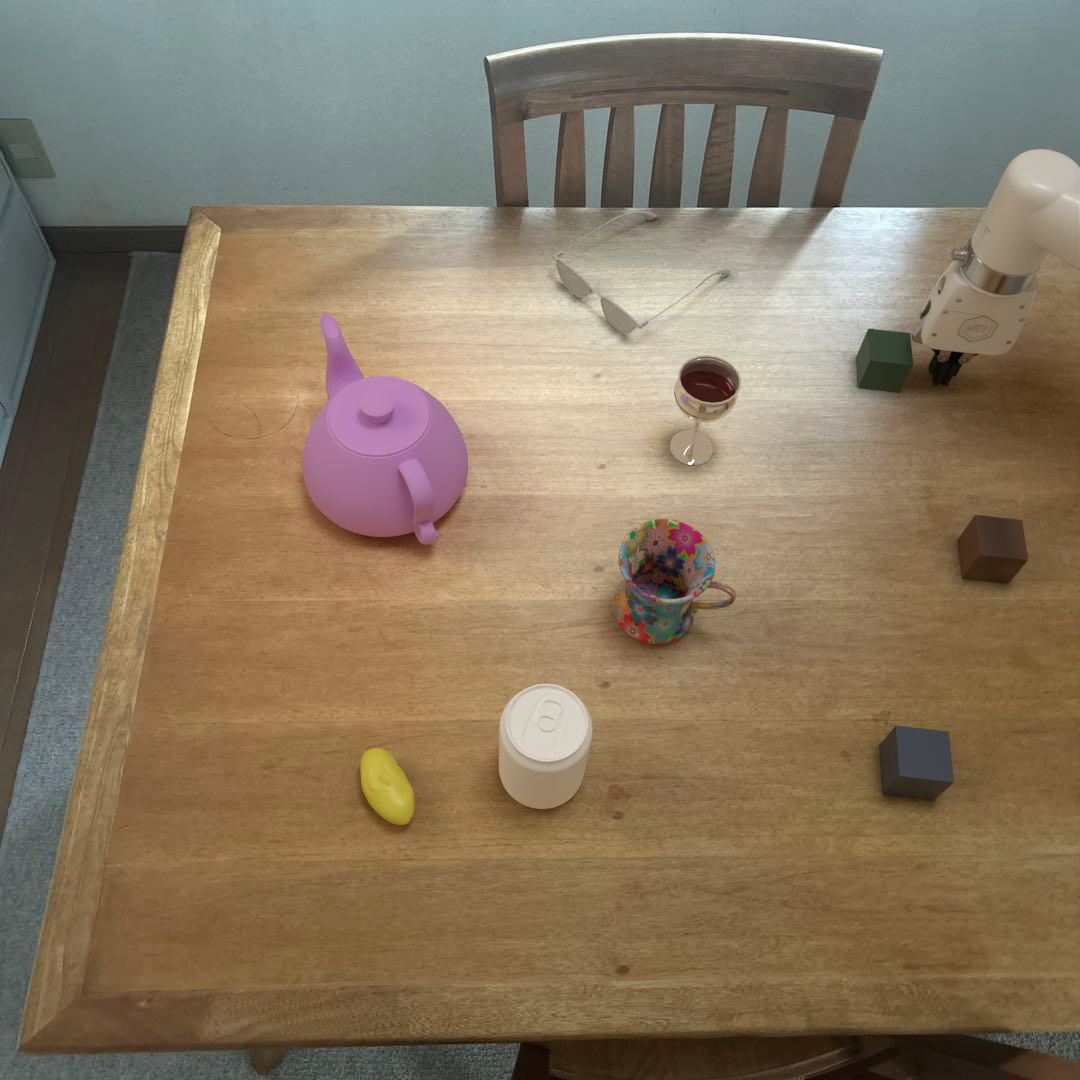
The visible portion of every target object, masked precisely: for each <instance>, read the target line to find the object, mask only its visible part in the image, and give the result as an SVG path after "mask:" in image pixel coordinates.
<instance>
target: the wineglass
mask: <svg viewBox="0 0 1080 1080" xmlns="http://www.w3.org/2000/svg"><path fill="white" fill-rule="evenodd" d="M741 387H742V378H741V376H740V372H739V371H738V370H737V368H736V367H735V366H734V364H732V363H730V362H729V361H728V360H727V359H724V358H721V357H719V356H716V355H709V354H704V355H697V356H694V357H692V358H691V357H690V358H689V359H687V360H686V361H685V362H684V363H683V364H682V365H681V366H680V367H679V370H678V375H677V380H676V381H675V384H674V391H673V395H674V399H675V403H676V405H677V407H678V408H679V410H680V412H681V413H682V414H683V415H685V416H686V417H688V419H691V420H693V421H694V426H693V429H685V430H681V431H679V432H677V433H676V434H674V435H673V436H672V438H671V439H670V441H669V449H670V453H671V454H672V456H673V457H674V459H676V460H677V461H678V462H680V463H683V464H685V465H688V466H698V465H703V464H704V463H707V462H708V461H709V460H711V457H712V455H713V454H714V446H713V442H712V441H711V440H710V438H709V436H707V435H706V434H704V433H702V432H700V431H699V430H700V428H701V425H702V423H705V424H706V423H716V422H718V421H721V420H723V419H724V418H725V417H726V416H728V415H729V414H730V413H731V412H732V411H733V410H734V407H735V406H736V404H737V402H738V398H739V392H740V390H741Z"/></svg>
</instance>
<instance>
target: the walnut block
mask: <svg viewBox="0 0 1080 1080" xmlns="http://www.w3.org/2000/svg"><path fill="white" fill-rule="evenodd" d="M957 546H958V553H959V554H958V555H959V562H960V571H961V579H963V580H972V581H980V582H981V581H983V582H991V583H1000V584H1010V583H1011V581H1013V579H1014V578H1015V577H1016V576H1017V574H1018V573H1019V572H1020V571H1021V570H1022V568H1023V567H1024V566H1025V565H1026V564H1027V563H1028V562H1029V556H1028V548H1027V543H1026V537H1025V529H1024V523H1023V519H1018V518H1008V517H1000V516H991V515H982V514H974V515H973V517H972V518H971V519H970V521H969V523H968V524H967V525H966V527H965V528H964V530H963V531H962V532H961V534H960V535H959V536H958V538H957Z"/></svg>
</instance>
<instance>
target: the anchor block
mask: <svg viewBox="0 0 1080 1080" xmlns="http://www.w3.org/2000/svg"><path fill="white" fill-rule="evenodd" d="M951 750H952V749H951V740H950V731H948V730H947V731H946V730H940V729H939V730H938V729H932V728H931V729H930V728H929V729H928V728H922V727H913V726H912V727H911V726H903V725H895V726H894V727H893V728H892V729H891V730H890V731H889V733H888V734H887V735H886V736H885V737H884V739H883V740H882V741H881V742H880V743H879V758H880V775H881V777H880V778H881V789H882V790H881V792H882V795H890V796H899V797H908V798H914V799H915V798H916V799H924V800H925V799H926V800H933V801H935V800H937V798H938V797H940V796H941V795H942V794H943V793H944V792H945V791H946V790H948V788H949V787H951V786H952V785H953V784H954V772H953V771H954V769H953V761H952V751H951Z"/></svg>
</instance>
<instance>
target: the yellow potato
mask: <svg viewBox="0 0 1080 1080" xmlns="http://www.w3.org/2000/svg"><path fill="white" fill-rule="evenodd" d="M359 763H360V764H359V769H360V770H359V771H360V785H361V789H362V792H363V795H364V797H365V798H366V799H365V800H367V802H368V804H369V805H370V807H372V809H373V810H374V811H375V813H377V814H378V815H379V816H380V817H381V818H383V819H384V820H385V821H387V822H388V823H390V824H393V825H396V826H397V825H398V826H405V825H407V824H409V823H410V821H411V820H412V818H413V816H414V812H415V792H414V789H413V787H412V785H411V784H410V782H409V780H408V778H407V774H406V773H405V772H404V770H403V769H402V768H401V767H400V765H399V764H398V762H397V760H396V759H395V757H394V755H393V754H391V753H390V751H388V750H387V749H385V748H381V747H374V748H370V749H368V750H366V751H365V752H364V753H363V754H362V757H361V759H360V762H359Z"/></svg>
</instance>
